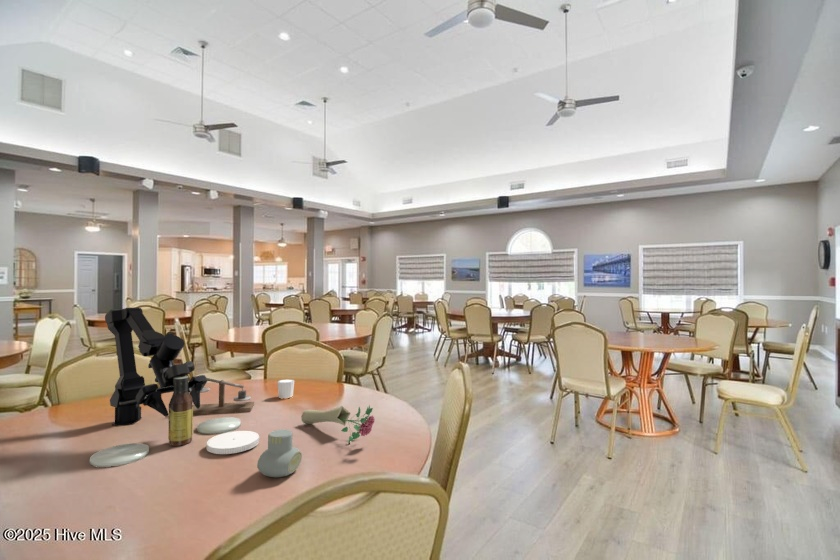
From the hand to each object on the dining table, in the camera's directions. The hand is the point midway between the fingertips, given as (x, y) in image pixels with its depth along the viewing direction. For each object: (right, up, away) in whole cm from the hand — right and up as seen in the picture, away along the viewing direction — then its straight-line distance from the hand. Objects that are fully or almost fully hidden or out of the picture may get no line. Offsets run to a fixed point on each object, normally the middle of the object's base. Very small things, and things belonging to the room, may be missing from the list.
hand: (183, 411), depth 120 cm
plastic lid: (+16, -10, -2) cm, 19 cm away
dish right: (+4, -10, +14) cm, 18 cm away
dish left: (-12, -9, -10) cm, 18 cm away
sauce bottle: (-1, -10, +1) cm, 10 cm away
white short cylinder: (+13, -11, +51) cm, 54 cm away
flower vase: (+45, -10, +8) cm, 47 cm away
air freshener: (+35, -10, -18) cm, 40 cm away
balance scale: (-5, -10, +33) cm, 35 cm away
